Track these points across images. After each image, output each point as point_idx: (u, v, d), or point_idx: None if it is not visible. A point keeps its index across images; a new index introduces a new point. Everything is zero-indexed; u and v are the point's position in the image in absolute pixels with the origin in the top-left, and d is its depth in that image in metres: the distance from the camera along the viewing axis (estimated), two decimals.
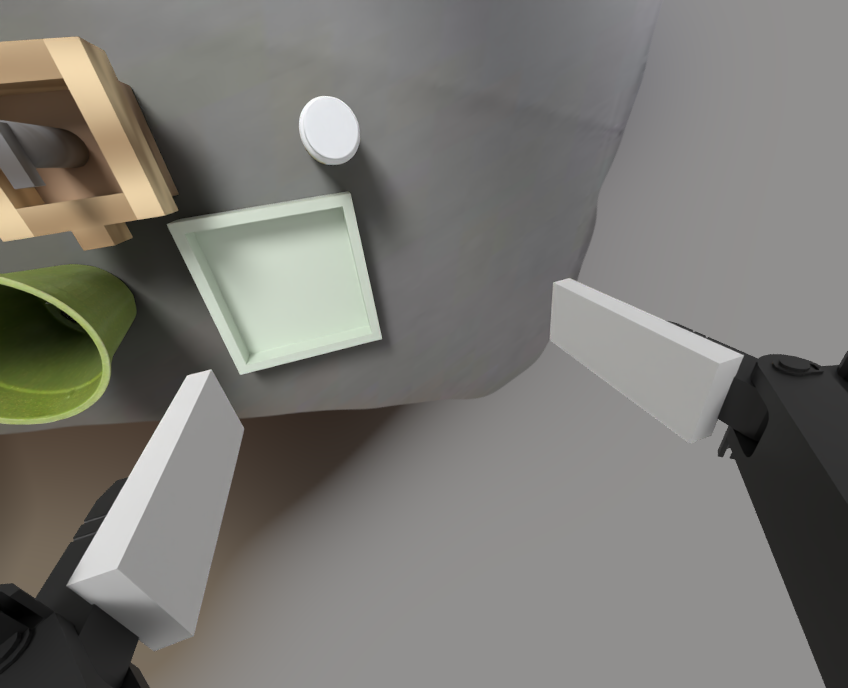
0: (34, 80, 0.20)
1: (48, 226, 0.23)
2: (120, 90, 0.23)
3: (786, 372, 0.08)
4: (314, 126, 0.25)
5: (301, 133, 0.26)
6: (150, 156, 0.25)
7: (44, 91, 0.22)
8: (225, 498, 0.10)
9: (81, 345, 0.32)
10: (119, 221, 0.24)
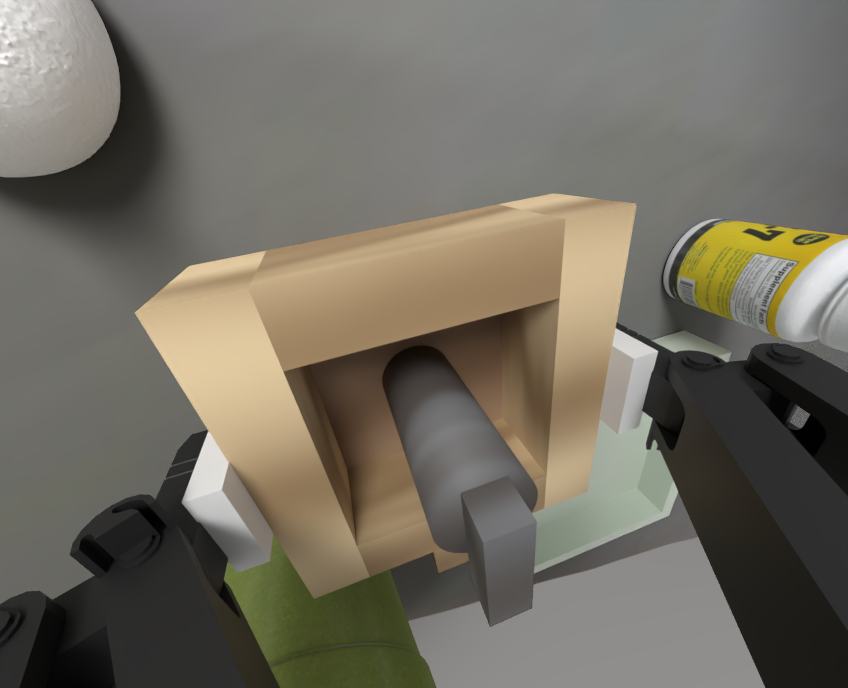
0: (500, 311, 0.08)
1: (400, 556, 0.11)
2: None
3: (694, 367, 0.08)
4: None
5: (797, 305, 0.14)
6: None
7: None
8: None
9: None
10: None
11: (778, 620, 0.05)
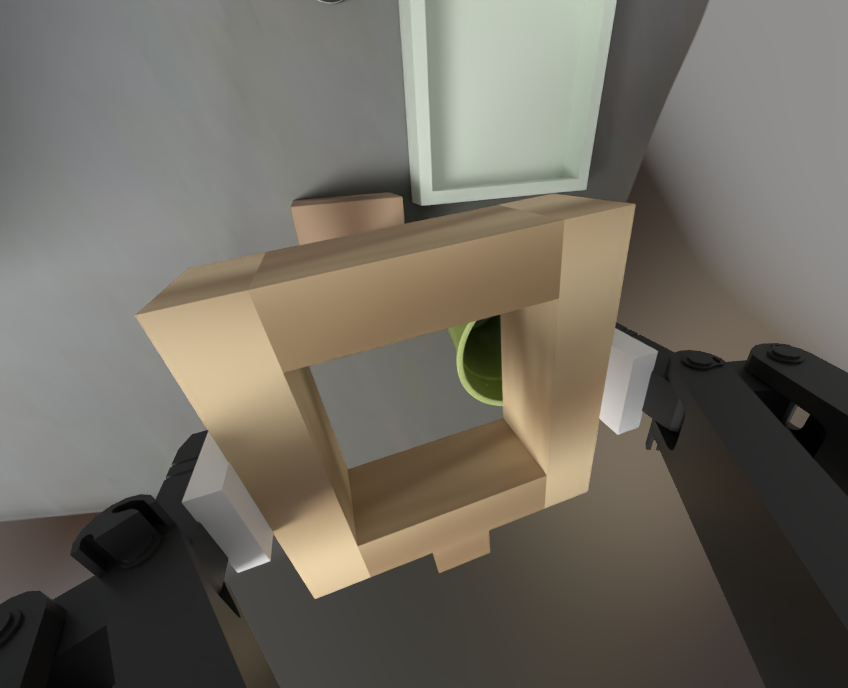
0: (500, 311, 0.08)
1: (401, 556, 0.11)
2: None
3: (694, 367, 0.08)
4: None
5: None
6: None
7: None
8: None
9: None
10: (516, 518, 0.12)
11: (777, 620, 0.05)
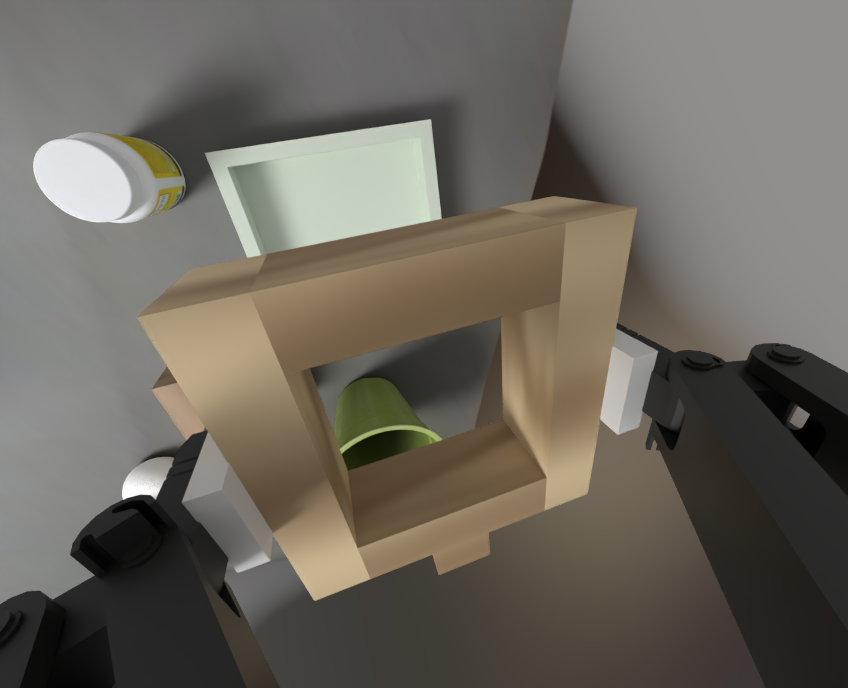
0: (501, 314, 0.08)
1: (400, 558, 0.11)
2: None
3: (694, 367, 0.08)
4: (92, 207, 0.18)
5: (125, 221, 0.20)
6: None
7: None
8: None
9: None
10: (515, 520, 0.12)
11: (777, 620, 0.05)
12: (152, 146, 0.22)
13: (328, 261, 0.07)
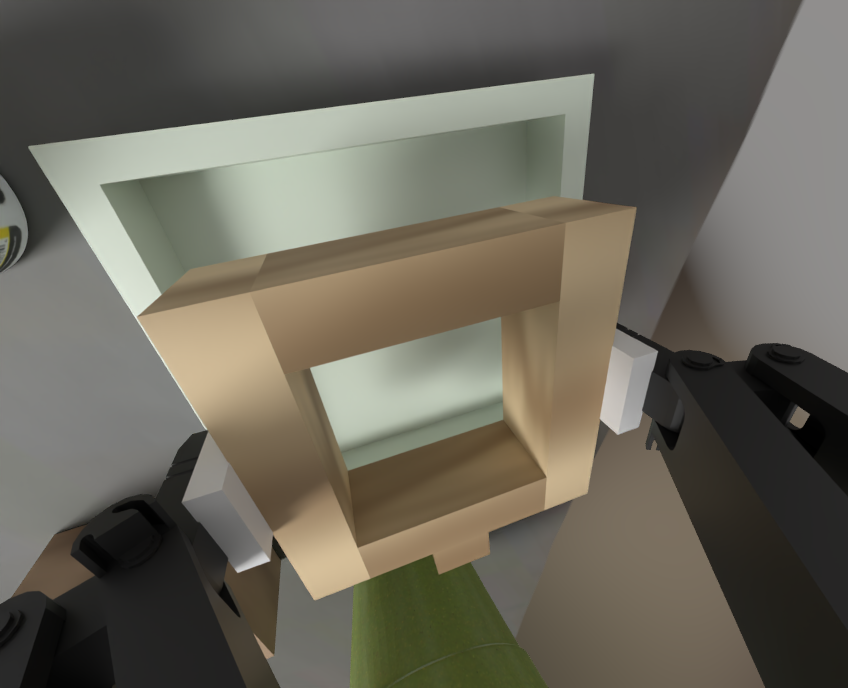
0: (501, 314, 0.08)
1: (400, 558, 0.11)
2: None
3: (694, 367, 0.08)
4: None
5: None
6: None
7: None
8: None
9: None
10: (515, 519, 0.12)
11: (777, 620, 0.05)
12: None
13: (328, 261, 0.07)
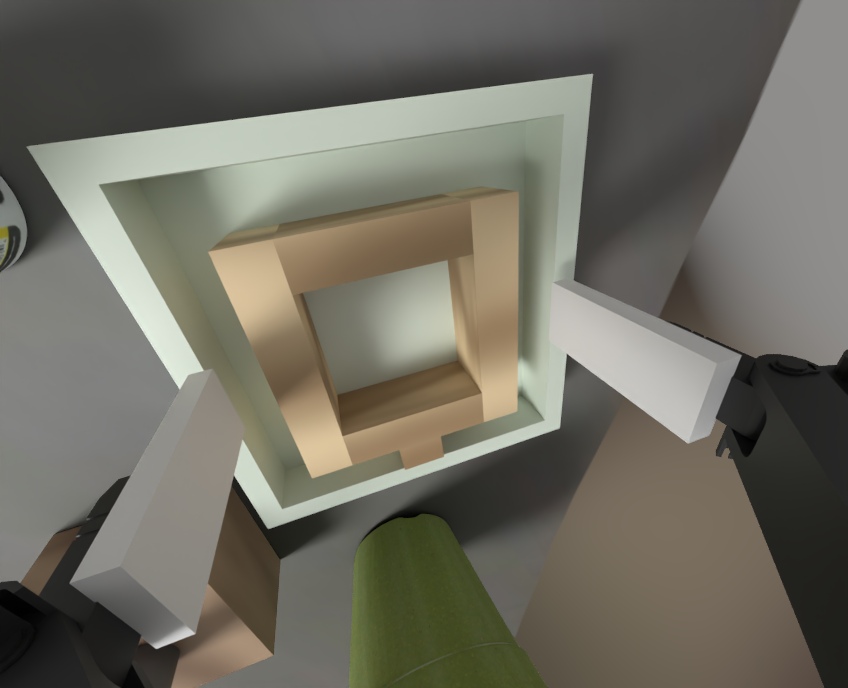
0: (433, 262, 0.12)
1: (374, 450, 0.15)
2: None
3: (784, 372, 0.08)
4: None
5: None
6: None
7: None
8: (226, 497, 0.10)
9: None
10: (461, 428, 0.16)
11: None
12: None
13: (319, 224, 0.11)
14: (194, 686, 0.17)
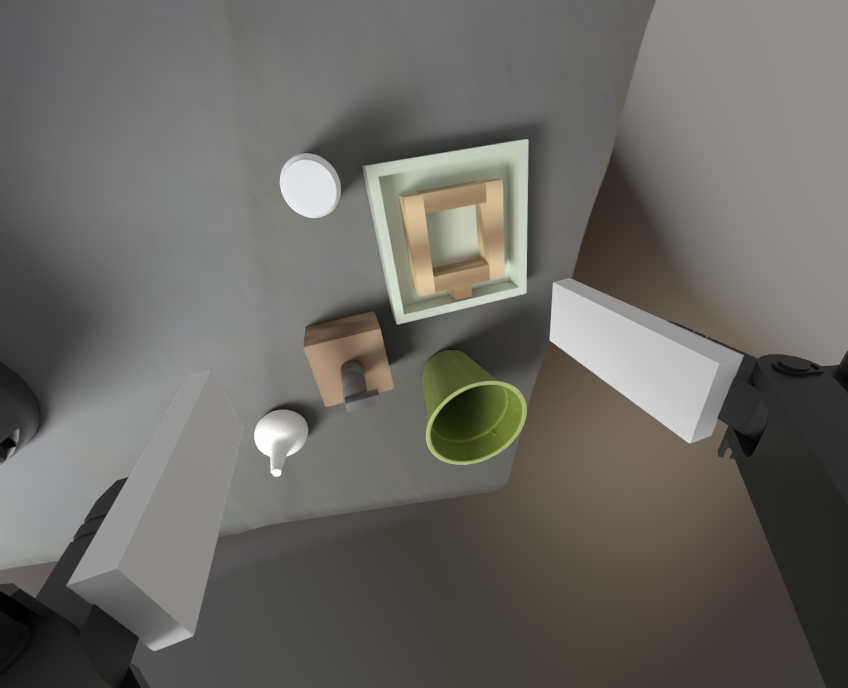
0: (472, 204, 0.34)
1: (444, 286, 0.37)
2: None
3: (786, 372, 0.08)
4: (310, 206, 0.26)
5: (317, 216, 0.28)
6: None
7: None
8: (225, 498, 0.10)
9: None
10: (480, 281, 0.38)
11: None
12: None
13: (434, 190, 0.33)
14: None
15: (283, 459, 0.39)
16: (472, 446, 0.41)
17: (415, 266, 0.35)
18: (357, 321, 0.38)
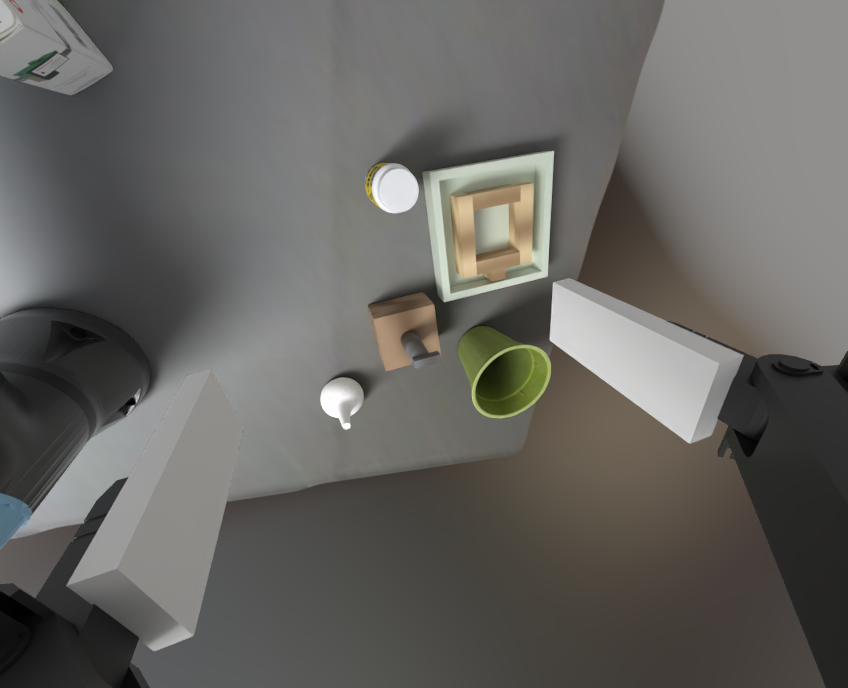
0: (509, 203, 0.42)
1: (484, 270, 0.45)
2: None
3: (786, 372, 0.08)
4: (398, 204, 0.34)
5: (397, 212, 0.36)
6: None
7: None
8: (225, 498, 0.10)
9: (503, 354, 0.54)
10: (512, 266, 0.46)
11: None
12: None
13: (479, 191, 0.41)
14: None
15: (349, 416, 0.47)
16: (504, 404, 0.50)
17: (462, 253, 0.43)
18: (411, 299, 0.46)
